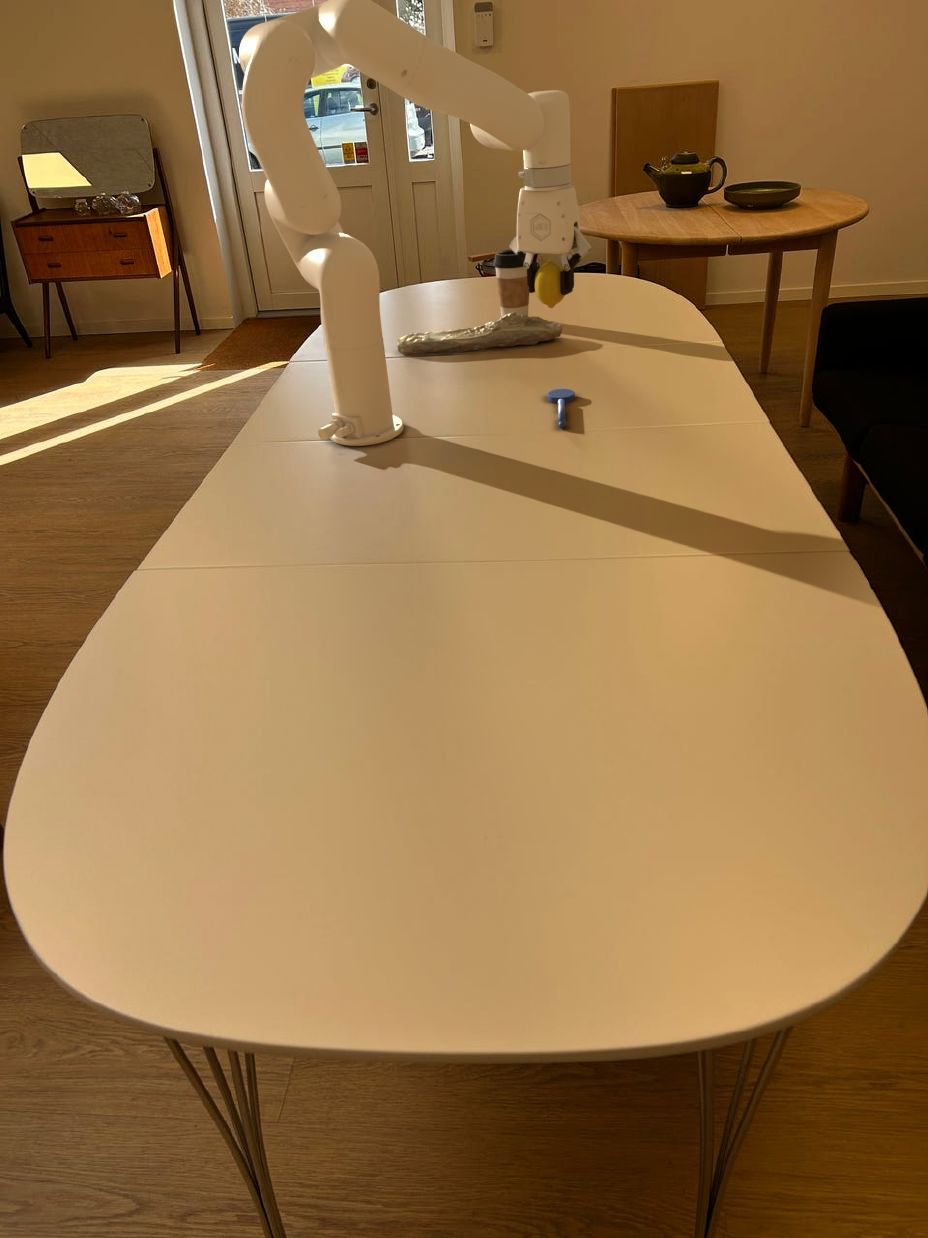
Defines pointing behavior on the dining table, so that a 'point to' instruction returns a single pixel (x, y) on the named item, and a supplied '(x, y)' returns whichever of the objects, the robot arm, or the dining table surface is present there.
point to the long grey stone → (483, 335)
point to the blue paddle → (561, 402)
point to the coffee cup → (511, 283)
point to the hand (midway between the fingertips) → (550, 291)
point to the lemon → (549, 284)
